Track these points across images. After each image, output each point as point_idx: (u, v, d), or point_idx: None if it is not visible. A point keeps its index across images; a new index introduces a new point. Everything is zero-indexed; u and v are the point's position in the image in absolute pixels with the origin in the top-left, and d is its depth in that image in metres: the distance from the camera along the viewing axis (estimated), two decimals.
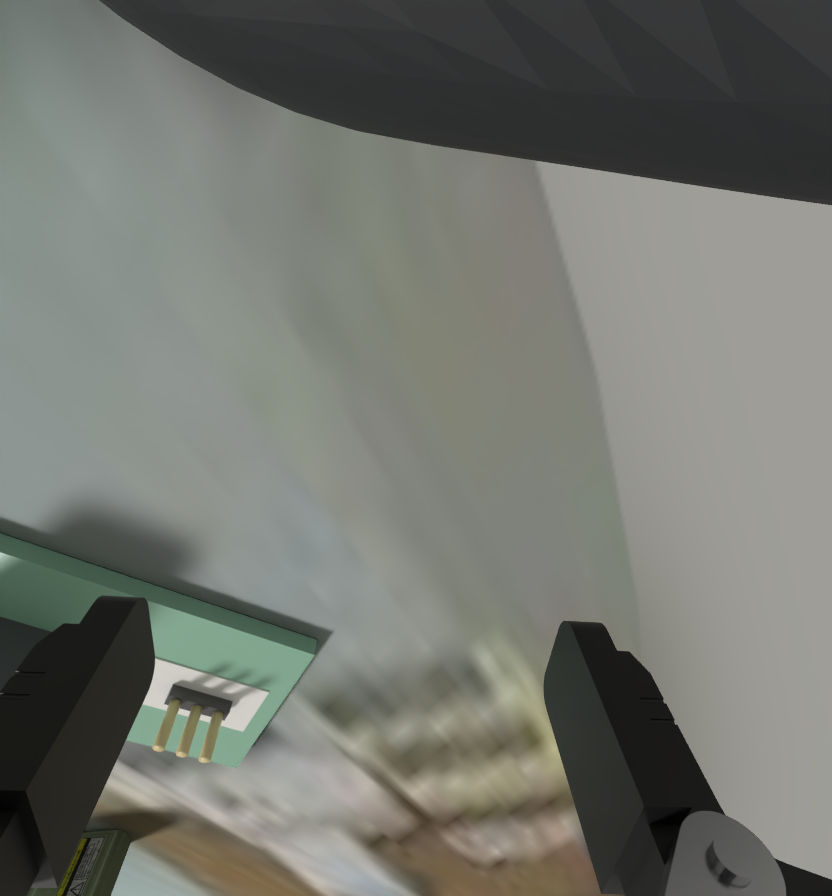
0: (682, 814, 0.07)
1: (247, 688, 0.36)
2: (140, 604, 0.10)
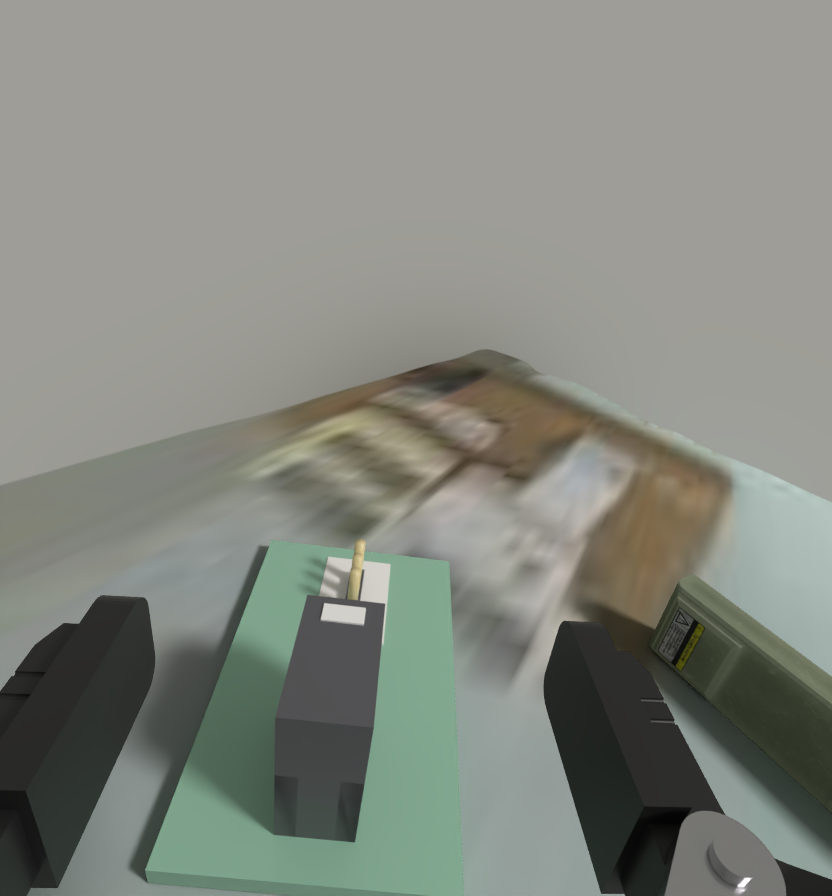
0: (682, 814, 0.07)
1: (329, 570, 0.41)
2: (140, 604, 0.10)
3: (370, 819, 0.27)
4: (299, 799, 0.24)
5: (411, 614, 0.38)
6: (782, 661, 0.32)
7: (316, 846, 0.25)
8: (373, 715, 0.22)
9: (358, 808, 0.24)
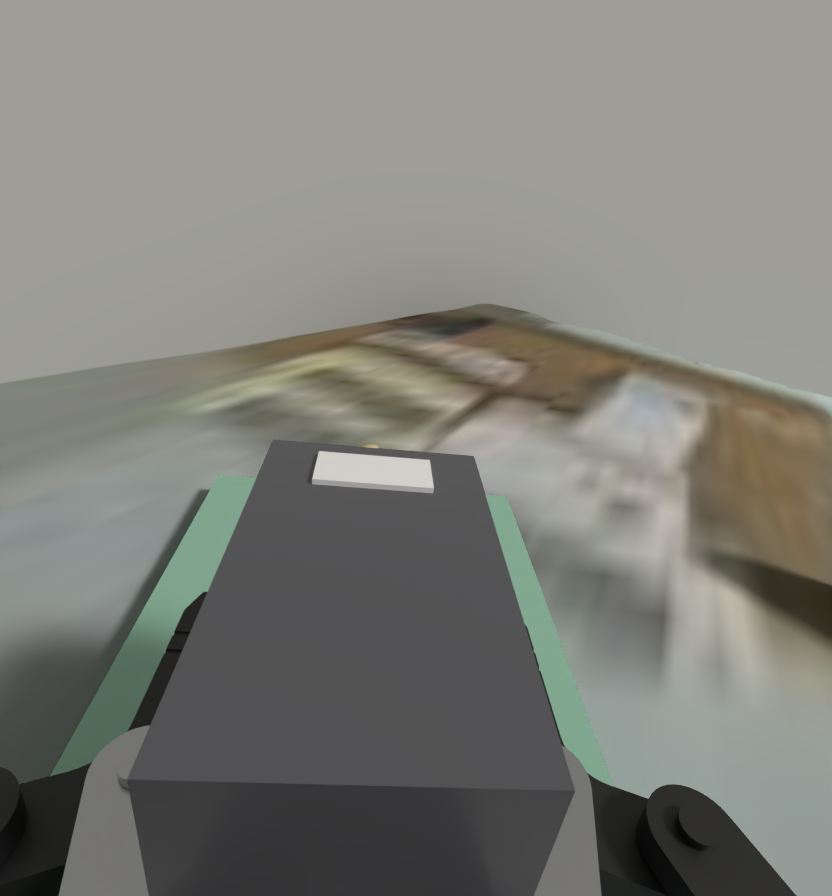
0: None
1: None
2: None
3: None
4: None
5: None
6: None
7: None
8: (553, 738, 0.05)
9: None
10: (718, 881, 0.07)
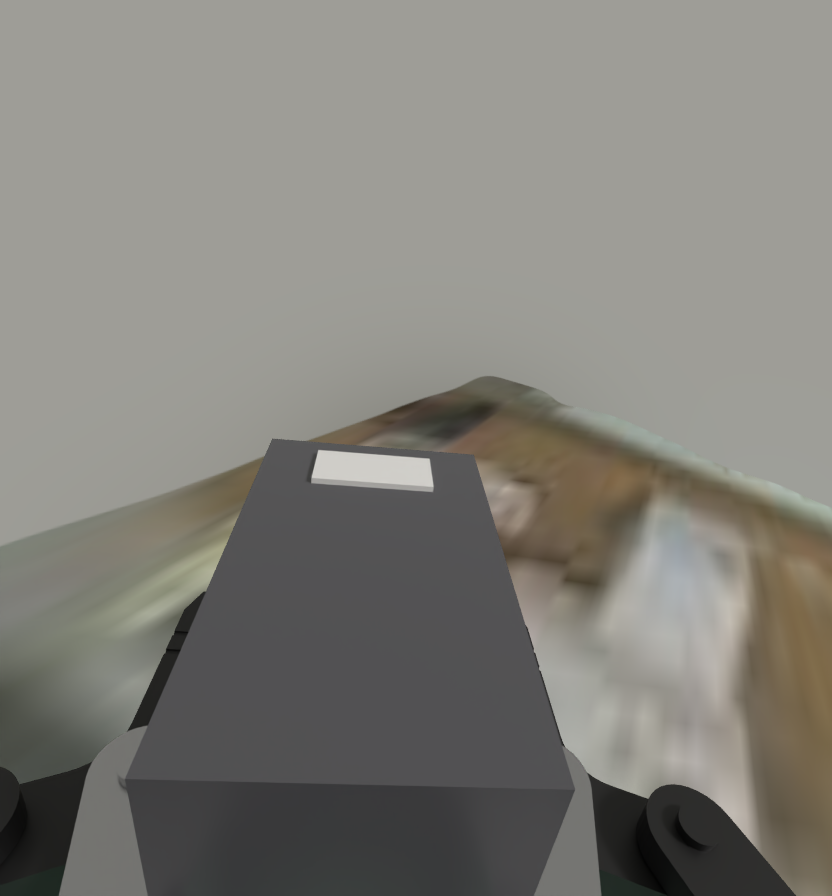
0: None
1: None
2: None
3: None
4: None
5: None
6: None
7: None
8: (553, 737, 0.05)
9: None
10: (718, 881, 0.07)
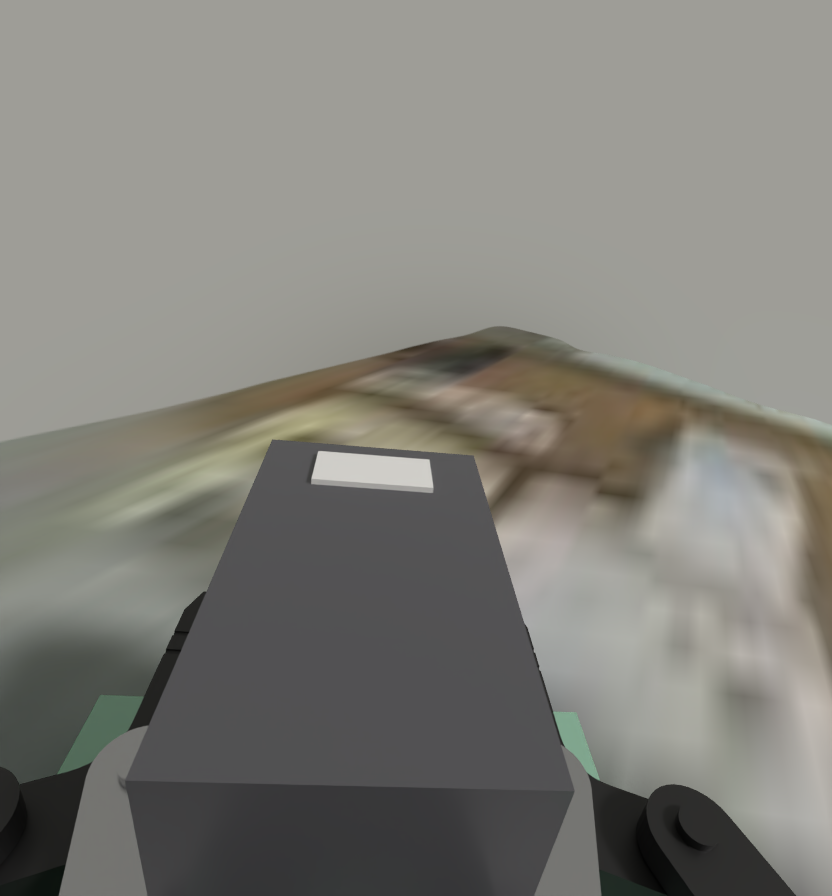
0: None
1: None
2: None
3: None
4: None
5: None
6: None
7: None
8: (553, 738, 0.05)
9: None
10: (718, 881, 0.07)
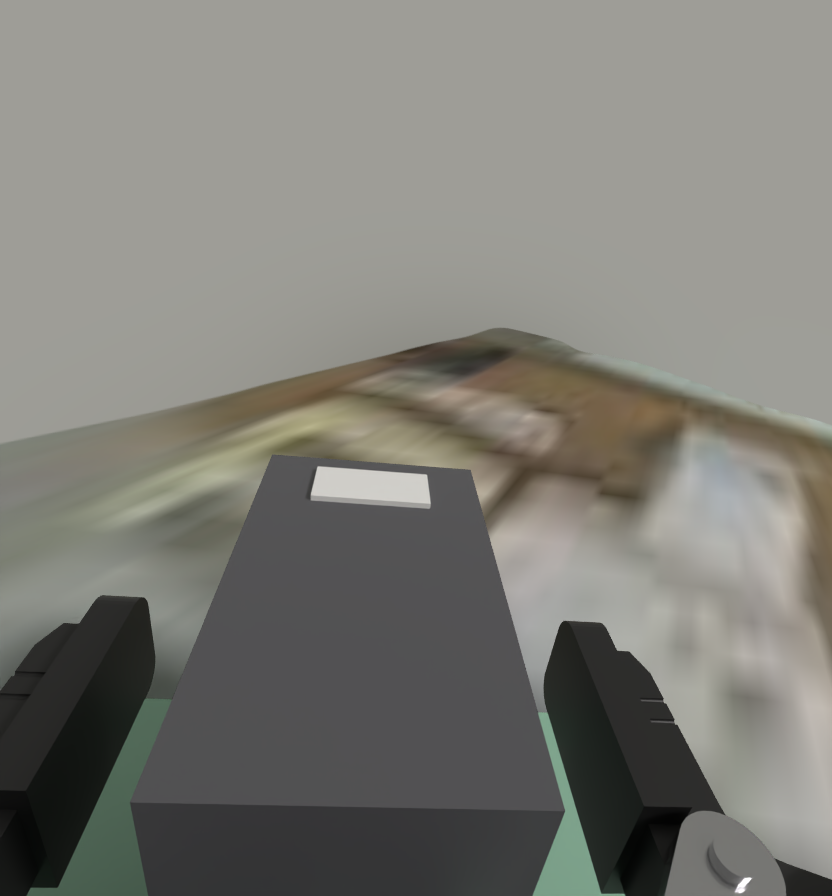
0: (682, 814, 0.07)
1: None
2: (140, 604, 0.10)
3: None
4: None
5: None
6: None
7: None
8: (544, 758, 0.05)
9: None
10: None
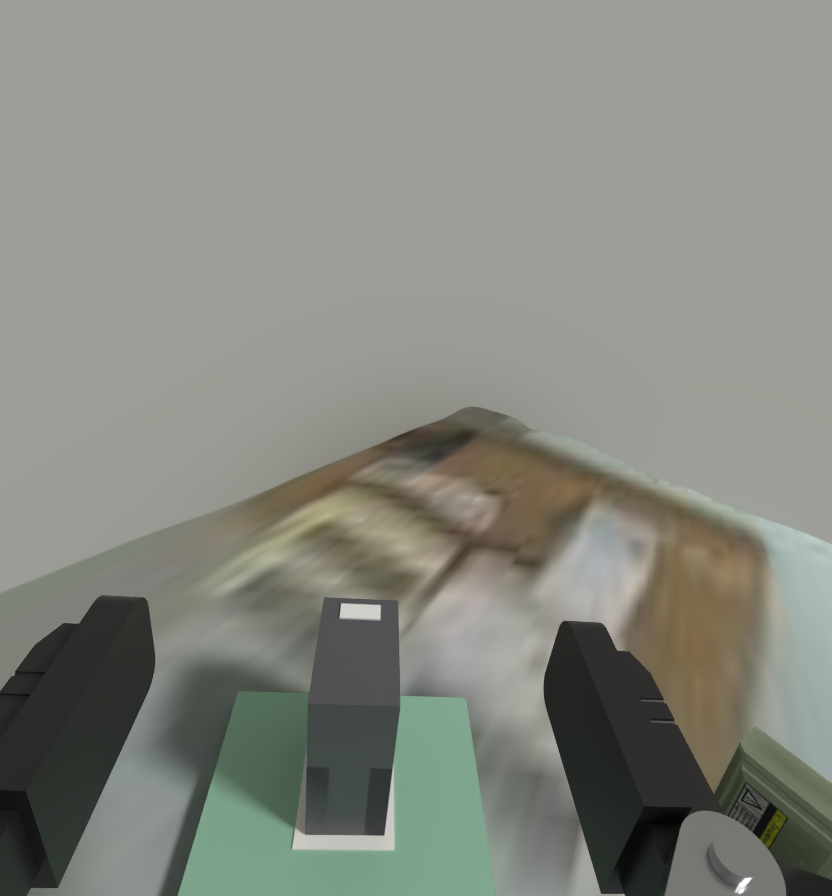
0: (682, 814, 0.07)
1: None
2: (140, 604, 0.10)
3: None
4: (330, 791, 0.25)
5: (427, 790, 0.29)
6: None
7: None
8: (398, 696, 0.23)
9: (387, 796, 0.25)
10: None
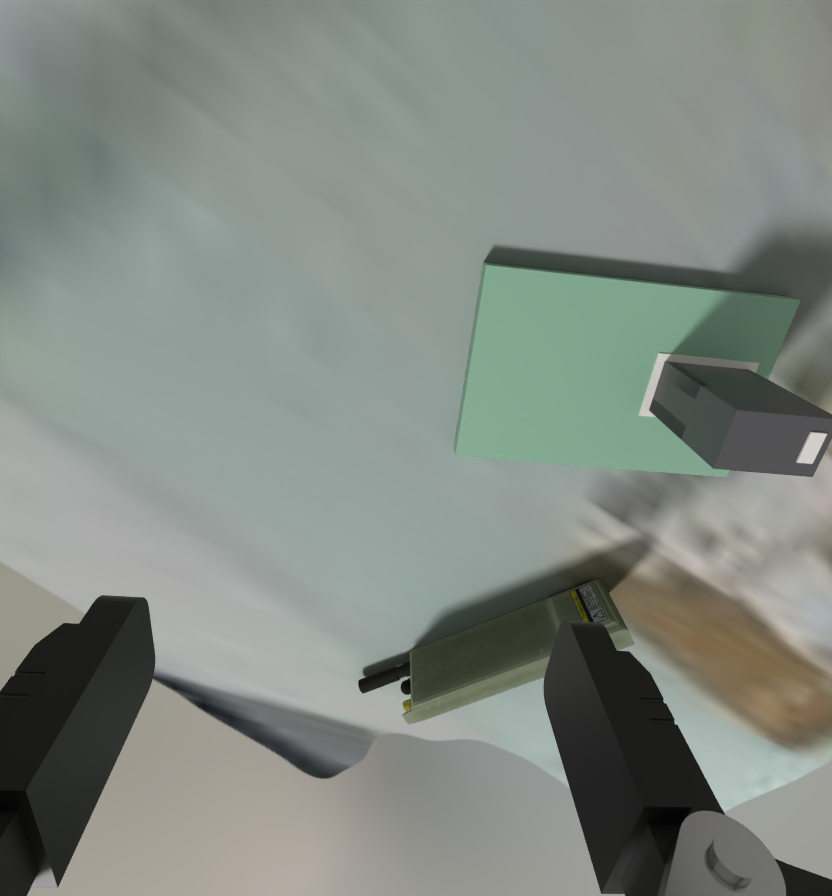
0: (682, 814, 0.07)
1: (738, 365, 0.40)
2: (140, 604, 0.10)
3: (502, 404, 0.40)
4: (682, 392, 0.37)
5: (667, 439, 0.42)
6: (544, 660, 0.45)
7: (489, 372, 0.39)
8: (721, 468, 0.33)
9: (667, 426, 0.38)
10: None
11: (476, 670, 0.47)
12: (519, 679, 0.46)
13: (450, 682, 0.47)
